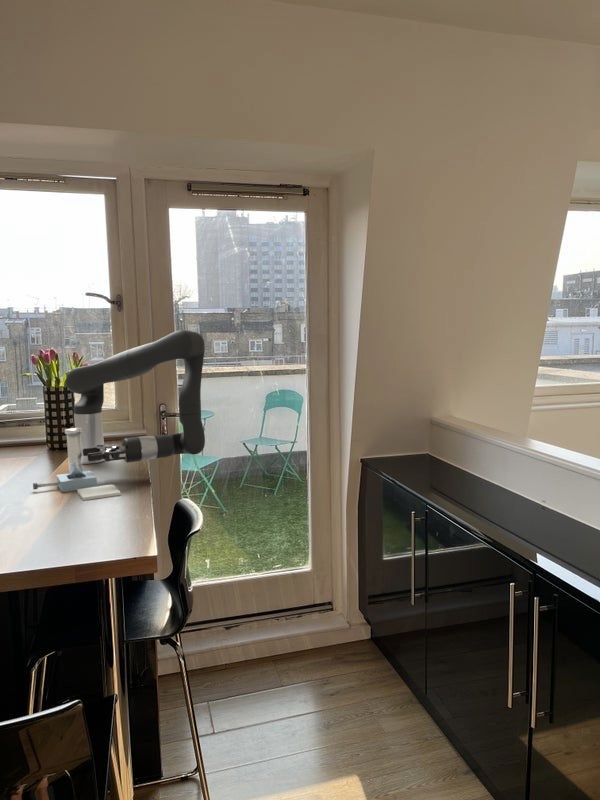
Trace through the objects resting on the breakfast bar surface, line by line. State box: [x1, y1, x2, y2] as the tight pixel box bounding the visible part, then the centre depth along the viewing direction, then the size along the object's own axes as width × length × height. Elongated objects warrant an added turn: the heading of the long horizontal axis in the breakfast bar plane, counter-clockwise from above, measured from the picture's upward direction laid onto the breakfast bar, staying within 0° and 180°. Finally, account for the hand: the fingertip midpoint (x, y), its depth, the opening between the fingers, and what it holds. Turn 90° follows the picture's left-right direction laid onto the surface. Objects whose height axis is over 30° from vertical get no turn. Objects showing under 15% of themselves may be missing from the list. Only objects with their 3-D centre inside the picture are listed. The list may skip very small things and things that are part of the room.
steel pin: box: [64, 427, 84, 479], centre depth 183 cm, size 5×5×17 cm
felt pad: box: [76, 484, 122, 501], centre depth 175 cm, size 10×10×1 cm
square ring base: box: [32, 470, 98, 493], centre depth 182 cm, size 10×17×3 cm, turn 119°
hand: (85, 454), depth 184 cm, fingers open, 8 cm apart
